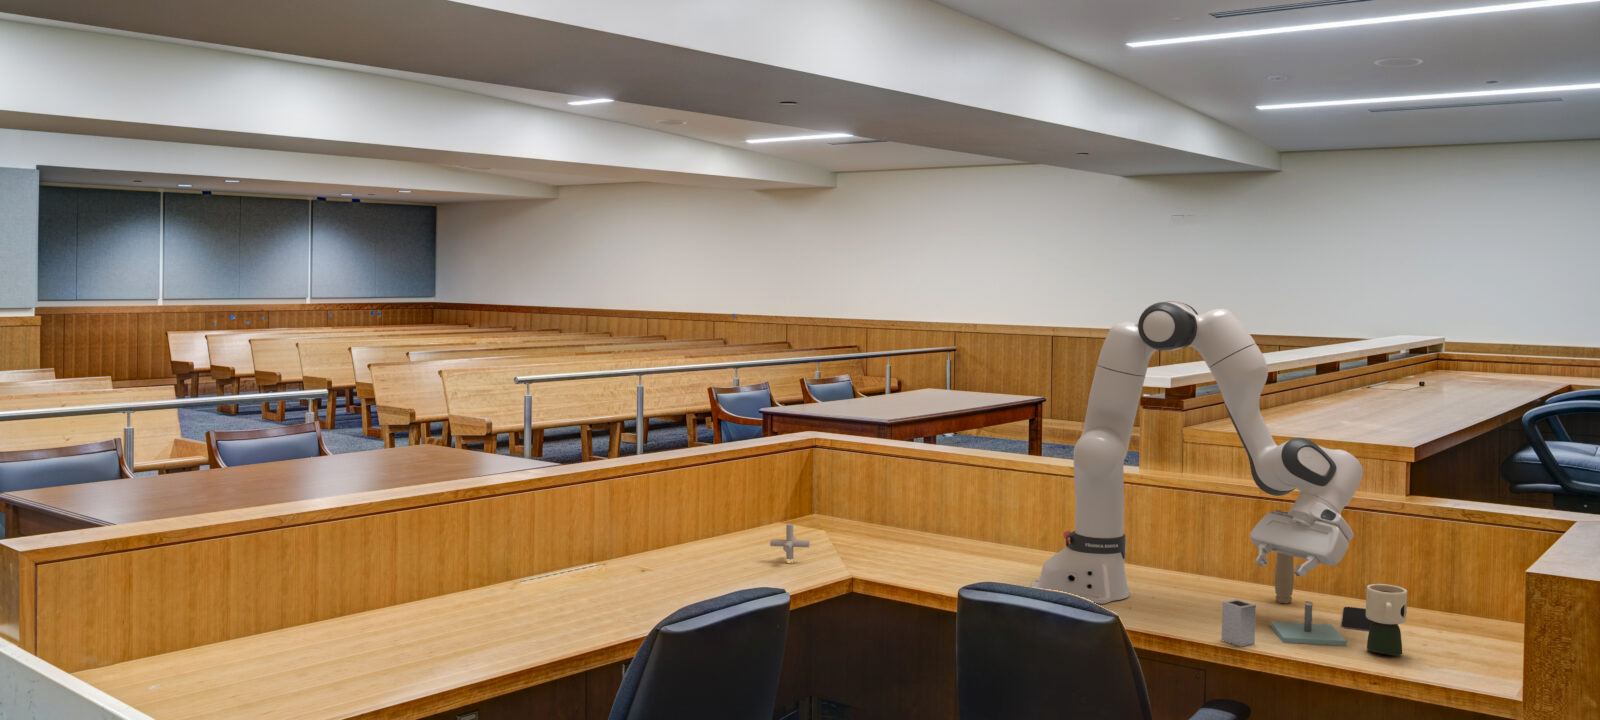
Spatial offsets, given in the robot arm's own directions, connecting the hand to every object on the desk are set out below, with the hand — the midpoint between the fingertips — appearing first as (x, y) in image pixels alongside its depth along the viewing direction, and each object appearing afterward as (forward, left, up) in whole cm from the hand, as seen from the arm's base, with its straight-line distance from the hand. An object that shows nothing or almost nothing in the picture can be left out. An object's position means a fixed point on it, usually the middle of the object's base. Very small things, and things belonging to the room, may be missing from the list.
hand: (1278, 569), depth 236 cm
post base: (+6, 0, -14) cm, 15 cm away
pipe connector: (-110, +40, -14) cm, 118 cm away
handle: (+7, +25, -14) cm, 29 cm away
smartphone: (+20, +13, -14) cm, 28 cm away
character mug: (+18, -9, -14) cm, 25 cm away
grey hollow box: (-9, -7, -14) cm, 18 cm away
